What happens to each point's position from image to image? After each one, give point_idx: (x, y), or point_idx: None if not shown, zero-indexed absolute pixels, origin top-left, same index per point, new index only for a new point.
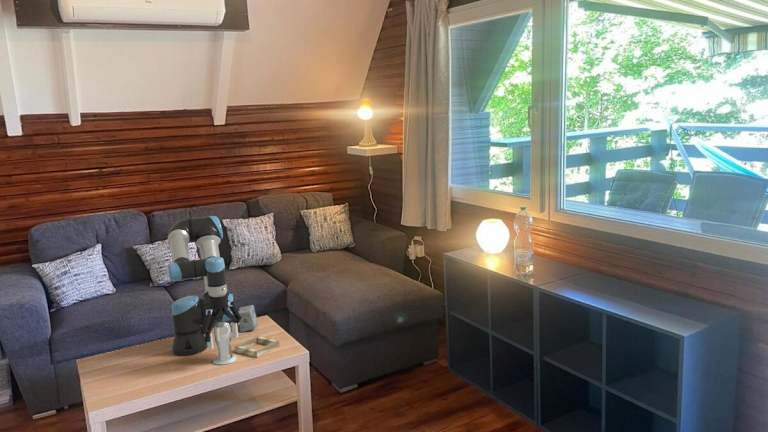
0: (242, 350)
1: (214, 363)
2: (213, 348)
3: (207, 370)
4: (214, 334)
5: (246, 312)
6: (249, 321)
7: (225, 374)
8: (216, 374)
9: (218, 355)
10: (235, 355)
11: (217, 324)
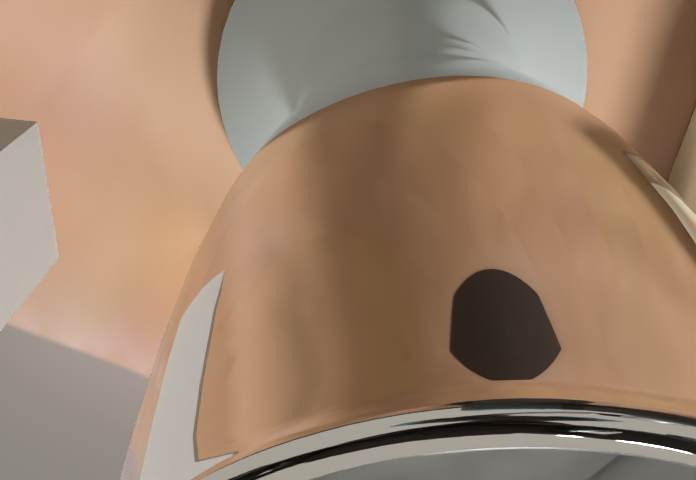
0: (687, 204)
1: (226, 31)
2: (53, 259)
3: (29, 94)
4: (206, 246)
5: None
6: None
7: (95, 355)
8: None
9: (320, 56)
10: None
11: (606, 402)
